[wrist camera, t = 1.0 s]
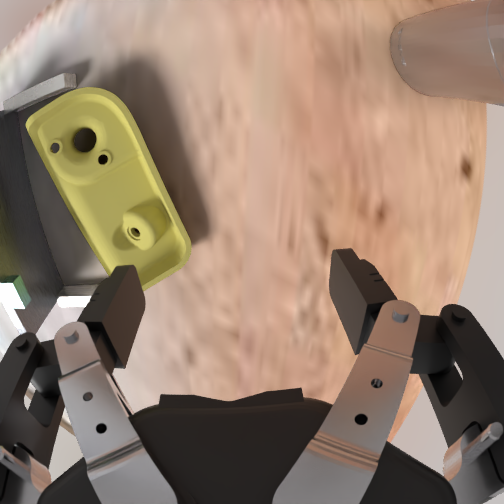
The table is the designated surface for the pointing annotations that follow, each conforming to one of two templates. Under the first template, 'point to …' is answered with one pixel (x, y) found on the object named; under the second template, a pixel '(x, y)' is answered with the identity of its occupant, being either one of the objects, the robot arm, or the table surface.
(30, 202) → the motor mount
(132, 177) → the plastic component
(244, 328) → the table surface
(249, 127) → the table surface
